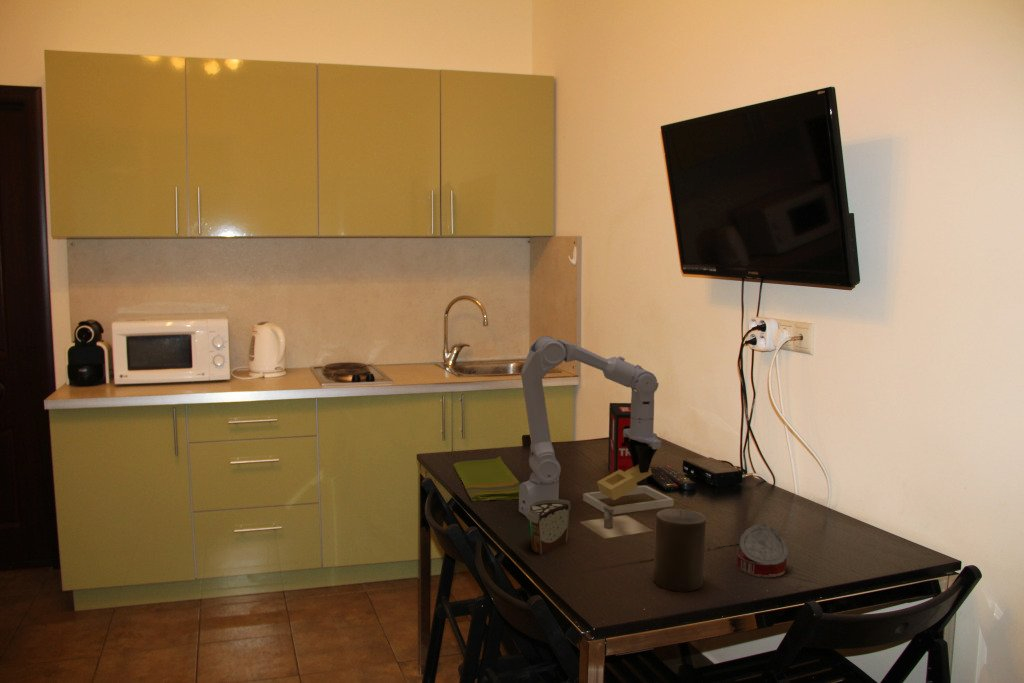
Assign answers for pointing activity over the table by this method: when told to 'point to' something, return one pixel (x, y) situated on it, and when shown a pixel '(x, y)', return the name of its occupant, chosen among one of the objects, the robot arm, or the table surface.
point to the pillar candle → (679, 549)
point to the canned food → (762, 550)
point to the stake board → (615, 525)
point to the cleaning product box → (620, 439)
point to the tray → (659, 503)
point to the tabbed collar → (621, 482)
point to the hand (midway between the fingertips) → (640, 470)
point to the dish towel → (488, 479)
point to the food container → (548, 523)
